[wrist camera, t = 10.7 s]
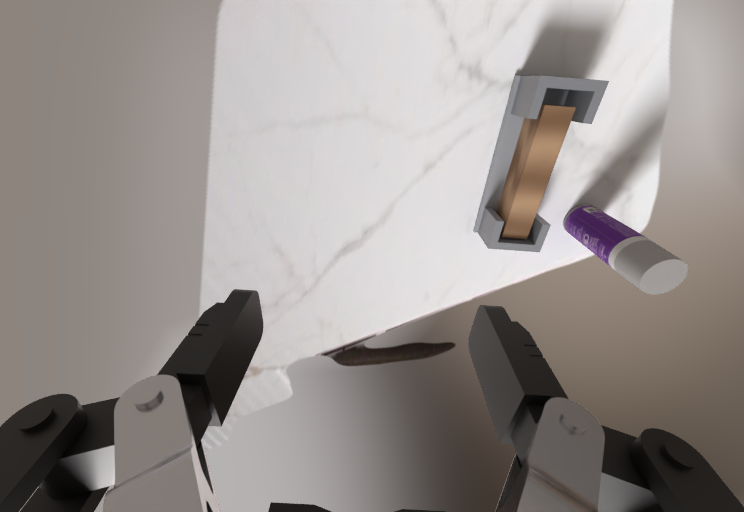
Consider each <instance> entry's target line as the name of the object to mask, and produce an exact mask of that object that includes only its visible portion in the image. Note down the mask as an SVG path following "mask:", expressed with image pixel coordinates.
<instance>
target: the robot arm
mask: <svg viewBox="0 0 744 512" xmlns="http://www.w3.org/2000/svg"><path fill="white" fill-rule="evenodd" d="M262 333H263V318H262V312H261V306H260V300H259V294H258V292H257V291H254V290H238V289H235V290H233V291H232V292H231V294H230V295H229V297H228V298H227V300H226V301H225V302H224V303H216V304H215V305H213V306H212V307H211V308H209V309H208V310H206V311H205V312H204V313H203V314H202V316H201V317H200V318H199V320H198V321H197V322H196V324H195V326H193V328H192V329H191V330H190V332H189V333H188V336H186V337H185V338H184V340H183V341H182V342H181V344H180V345H179V346H178V348H177V349H176V350H175V352H174V353H173V354H172V356H171V357H170V358H169V360H168V361H167V362H166V364H165V365H164V366H163V368H162V369H161V371H160V372H159V373H158V374H157V375H156V376H151V377H149V378H146V379H144V380H141V381H139V382H138V383H136V384H134V385H133V386H131V387H130V388H129V389H128V390H127V391H125V392H124V393H123V394H122V396H121V397H119V398H115V399H110V400H106V401H101V402H96V403H91V404H87V405H82V406H81V405H80V403H79V402H78V400H77V399H76V398H75V397H73V396H72V395H69V394H57V395H52V396H48V397H45V398H42V399H39V400H37V401H35V402H33V403H31V404H29V405H27V406H25V407H24V408H22V409H21V410H19V411H18V412H16V413H15V414H14V415H12V416H11V417H10V418H9V419H8V420H7V421H6V422H5V423H4V424H3V425H2V426H1V427H0V512H19V510H20V509H21V508H22V507H23V505H24V504H25V503H26V501H27V500H28V499H29V498H30V496H31V495H32V494H33V492H34V491H35V490H36V489H37V487H38V486H39V488H38V489H37V490H36V492H35V493H34V494H33V496H32V497H31V498H30V499H29V501H28V502H27V503H26V505H25V506H24V507H23V509H22V510H21V511H20V512H94V511H95V509H96V507H97V506H98V504H99V502H100V501H101V499H102V497H103V496H104V494H105V492H106V491H107V489H108V488H109V486H111V485H114V484H115V485H114V488H113V489H111V490H109V491H108V492H107V493H106V495H105V498H104V505H103V512H221V511H220V508H219V504H218V501H217V497H216V493H215V489H214V485H213V481H212V477H211V473H210V469H209V465H208V460H207V456H206V452H205V448H204V444H203V440H202V437H203V435H204V433H205V431H206V429H207V427H208V426H222V424H223V422H224V420H225V417H226V415H227V413H228V411H229V409H230V406H231V404H232V402H233V400H234V398H235V395H236V393H237V391H238V389H239V386H240V384H241V382H242V380H243V378H244V375H245V373H246V371H247V369H248V367H249V364H250V362H251V360H252V358H253V355H254V353H255V351H256V349H257V347H258V344H259V342H260V340H261V337H262ZM469 351H470V354H471V358H472V361H473V364H474V367H475V370H476V373H477V376H478V379H479V382H480V385H481V388H482V391H483V394H484V397H485V400H486V403H487V406H488V409H489V412H490V415H491V418H492V421H493V424H494V427H495V430H496V433H497V436H498V439H499V442H500V443H508V444H514V447H515V450H516V452H517V454H516V455H515V457H514V460H513V462H512V466H511V468H510V471H509V474H508V477H507V480H506V482H505V485H504V488H503V491H502V494H501V497H500V499H499V502H498V505H497V508H496V511H495V512H744V507H743V506H742V504H741V503H740V502H739V501H738V499H737V498H736V497H735V496H734V494H733V493H732V492H731V491H730V489H729V488H728V487H727V486H726V484H725V483H724V482H723V481H722V479H721V478H720V477H719V476H718V475H717V473H716V472H715V471H714V470H713V468H712V467H711V466H710V465H709V463H708V462H707V461H706V460H705V459H704V458H703V456H702V455H701V454H700V453H699V452H698V451H697V450H696V449H694V448H693V447H692V446H691V445H689V444H688V443H687V442H685V441H684V440H682V439H681V438H679V437H677V436H675V435H673V434H671V433H669V432H666V431H664V430H660V429H655V428H654V429H653V428H651V429H646V430H644V431H643V432H642V433H641V434H640V435H639V437H638V438H636V437H634V436H631V435H628V434H625V433H622V432H619V431H616V430H613V429H610V428H608V427H605V426H602V425H601V424H600V423H599V421H598V420H597V419H596V417H595V416H594V415H593V414H592V413H591V412H590V411H588V410H587V409H586V408H585V407H583V406H582V405H580V404H578V403H577V402H574V401H572V400H570V399H568V397H567V395H566V394H565V392H564V390H563V389H562V387H561V385H560V384H559V382H558V380H557V379H556V377H555V375H554V373H553V372H552V370H551V368H550V367H549V365H548V363H547V362H546V360H545V358H543V356H542V353H541V352H540V350H539V348H537V345H536V343H535V341H534V340H533V338H532V336H531V335H530V333H529V332H528V331H527V330H526V329H525V328H524V327H523V326H521V325H520V324H519V323H518V322H512V321H511V320H510V318H509V316H508V314H507V313H506V311H505V309H504V308H503V307H501V306H485V305H480V306H479V308H478V310H477V313H476V316H475V319H474V323H473V326H472V329H471V332H470V336H469ZM269 512H331V511H328V510H326V509H323V508H321V507H318V506H316V505H308V504H289V503H271V504H270V508H269ZM396 512H443V511H426V510H406V509H402V510H399V511H396ZM444 512H445V511H444Z"/></svg>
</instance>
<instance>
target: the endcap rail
mask: <svg viewBox="0 0 744 512" xmlns="http://www.w3.org/2000/svg"><path fill="white" fill-rule="evenodd" d="M608 82H609V81H602V80H590V79H578V78H566V77H555V76H543V75H535V76H515V77H514V80H513V84H512V88H511V92H510V95H509V99H508V103H507V107H506V110H505V114H504V118H503V122H502V125H501V129H500V133H499V137H498V140H497V144H496V148H495V151H494V155H493V159H492V163H491V166H490V170H489V174H488V178H487V181H486V185H485V189H484V193H483V196H482V200H481V204H480V208H479V211H478V215H477V219H476V223H475V226H474V230H473V231H474V232H478V234H479V235H480V237H481V238H482V240H483V241H484V243H485V244H486V246H487V247H488V248H489V249H503V250H517V251H531V252H540V250H541V247H542V245H543V242H544V240H545V238H546V235H547V233H548V230H549V228H550V224H549V223H547V222H546V221H545V220H544V219H543V218H542V217H540V216H539V215H538V214H537V213H536V216H535V219H534V221H533V224H532V227H531V229H530V232H529V235H528V237H527V239H520V238H506V237H501V235H500V233H501V230H502V227H503V224H504V221H503V220H502V219H501V217H500V216H499V215H498V214H497V213H496V211H497V208H498V204H499V201H500V198H501V194H502V191H503V188H504V184H505V181H506V178H507V174H508V171H509V168H510V164H511V161H512V158H513V154H514V151H515V148H516V144H517V141H518V138H519V134H520V131H521V128H522V124H523V121H524V118H527V119H537V117H538V114H539V111H540V108H541V105H542V104H552V105H561V106H568V107H575V108H576V109H575V112H574V114H573V117H572V120H571V121H575V122H580V123H588V124H592V122H593V119H594V117H595V114H596V112H597V109H598V107H599V105H600V102H601V100H602V97H603V95H604V92H605V90H606V87H607V85H608Z"/></svg>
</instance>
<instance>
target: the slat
mask: <svg viewBox="0 0 744 512" xmlns="http://www.w3.org/2000/svg"><path fill="white" fill-rule="evenodd" d="M575 109H576V108H575V107H568V106H561V105H552V104H542V105H541V108H540V111H539V114H538V117H537V119H527V118H524V121H523V124H522V128H521V131H520V134H519V138H518V141H517V144H516V148H515V151H514V154H513V158H512V161H511V164H510V168H509V171H508V174H507V178H506V181H505V184H504V188H503V191H502V194H501V198H500V201H499V204H498V208H497V211H496V213H497V214H498V215H499V216H500V217H501V219H502V220H503V221H504V224H503V227H502V230H501V233H500V235H501V237H506V238H520V239H527V237H528V235H529V232H530V229H531V227H532V224H533V221H534V219H535V216H536V213H537V211H538V208H539V205H540V203H541V200H542V197H543V195H544V192H545V189H546V187H547V184H548V181H549V179H550V176H551V173H552V171H553V168H554V165H555V162H556V160H557V157H558V154H559V152H560V149H561V146H562V144H563V141H564V138H565V136H566V133H567V130H568V128H569V125H570V122H571V120H572V117H573V114H574V112H575Z"/></svg>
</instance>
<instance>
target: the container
mask: <svg viewBox="0 0 744 512" xmlns="http://www.w3.org/2000/svg"><path fill="white" fill-rule="evenodd" d="M563 225H564V228H565V230H566V231H567V232H568V233H569V234H571V235H572V236H573V237H574V238H576V239H577V240H578V241H579V242H581V243H582V244H583V245H584V246H586V247H587V248H588V249H589V250H590V251H592V252H593V253H594V254H595V255H597V256H598V257H599V258H600V259H602V260H603V261H604V262H605V263H607V264H608V265H609V266H610V267H612V268H613V269H614V270H616V271H617V272H618V273H620V274H621V275H622V276H624V277H625V278H626V279H628V280H629V281H630V282H632V283H633V284H634V285H636V286H637V287H638V288H640V289H641V290H643V291H644V292H645V293H648V294H661V293H665V292H668V291H670V290H672V289H674V288H675V287H677V286H678V285H679V284H680V283H682V281H683V280H684V279H685V278H686V276H687V273H688V266H687V264H686V263H685V262H684V261H683V260H681V259H679V258H678V257H676V256H675V255H673V254H671V253H670V252H668V251H667V250H665V249H663V248H662V247H660V246H659V245H657V244H656V243H654V242H653V241H651V240H649V239H648V238H646V237H645V236H643V235H641V234H640V233H638V232H636V231H634V230H633V229H631V228H629V227H628V226H626V225H624V224H622V223H621V222H619V221H617V220H616V219H614V218H612V217H611V216H609V215H607V214H605V213H604V212H602V211H600V210H599V209H597V208H595V207H593V206H591V205H587V204H584V205H579V206H577V207H575V208H573V209H572V210H570V211H569V212H568V214H567V215H566V216H565V219H564V222H563Z"/></svg>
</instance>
